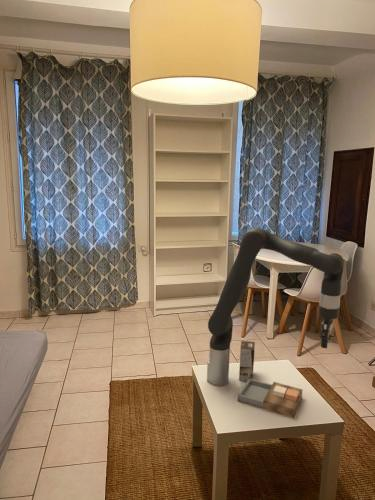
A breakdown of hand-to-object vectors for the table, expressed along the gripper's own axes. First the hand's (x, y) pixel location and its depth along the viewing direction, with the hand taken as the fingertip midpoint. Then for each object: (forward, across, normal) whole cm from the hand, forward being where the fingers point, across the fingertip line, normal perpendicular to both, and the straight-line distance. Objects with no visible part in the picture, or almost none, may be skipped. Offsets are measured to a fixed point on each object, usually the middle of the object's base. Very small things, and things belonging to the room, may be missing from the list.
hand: (325, 343), depth 153 cm
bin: (+29, +3, -26) cm, 39 cm away
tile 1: (+25, +3, -16) cm, 30 cm away
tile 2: (+25, +3, -11) cm, 28 cm away
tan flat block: (+29, +3, -14) cm, 33 cm away
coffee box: (+30, -10, -35) cm, 47 cm away
